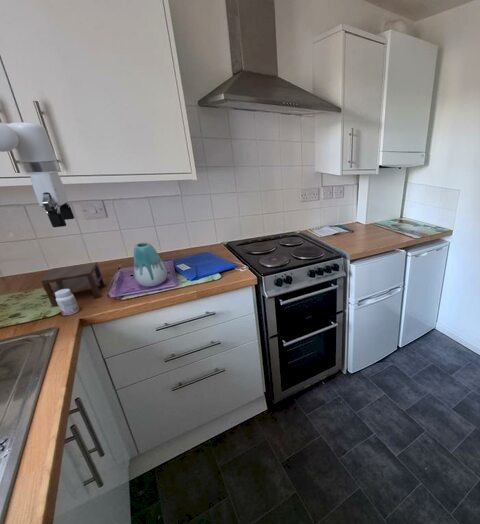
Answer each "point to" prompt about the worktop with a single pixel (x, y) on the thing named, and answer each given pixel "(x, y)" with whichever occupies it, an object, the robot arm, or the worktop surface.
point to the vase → (148, 266)
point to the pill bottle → (66, 302)
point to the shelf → (73, 280)
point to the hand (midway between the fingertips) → (64, 222)
